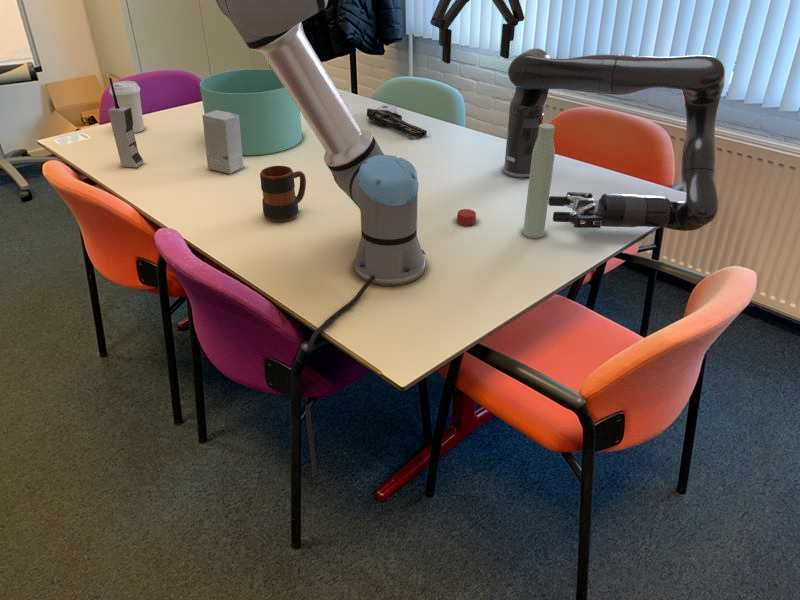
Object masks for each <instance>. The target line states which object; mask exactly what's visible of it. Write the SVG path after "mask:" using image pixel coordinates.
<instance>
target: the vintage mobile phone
mask: <svg viewBox="0 0 800 600" xmlns="http://www.w3.org/2000/svg"><path fill="white" fill-rule="evenodd" d="M108 79H109V85H110V86H111V88H112V93H113V97H112V100H113V99H114V100H113V103H114V106H113V107H111V108H109V109H108V110H107V114H108V117H109V122H110V125H111V129H112V134H113V137H114V141H115V145H116V149H117V153H118V157H119V161H120V165H121V167H124V168H139V167H140V166H141V165H143V164H144V159H143V156H141V154H140V153H139V149H138V145H137V141H136V136H135V133H134V131H133V118H132V111H131V107H123V106H119V105H118V102H117V97H116V95H115V91H114V87H113V83H114V82H113V79H112V77H109V78H108Z"/></svg>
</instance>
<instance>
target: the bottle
mask: <svg viewBox="0 0 800 600" xmlns="http://www.w3.org/2000/svg"><path fill="white" fill-rule="evenodd" d="M555 128H556V126H555V125H554V124H552V123H542V124H540V125H539V132H538V138H537V140H536V142H535V145H534V149H533V153H532V159H531V168H530V177H528V184H527V185H528V187H527V194H526V203H525V204H526V205H525V213H524V221H523V228H522V234H523V235H524V236H525V237H527V238H531V239H539V238H542V237H544V235H545V228H546V222H547V216H548V215H547V213H548V208H549V207H548V206H549V203H548V202H549V197H550V192H551V185H552V177H553V171H554V170H553V169H554V162H555V152H556V150H555V139H554V133H555V130H556V129H555Z"/></svg>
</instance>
